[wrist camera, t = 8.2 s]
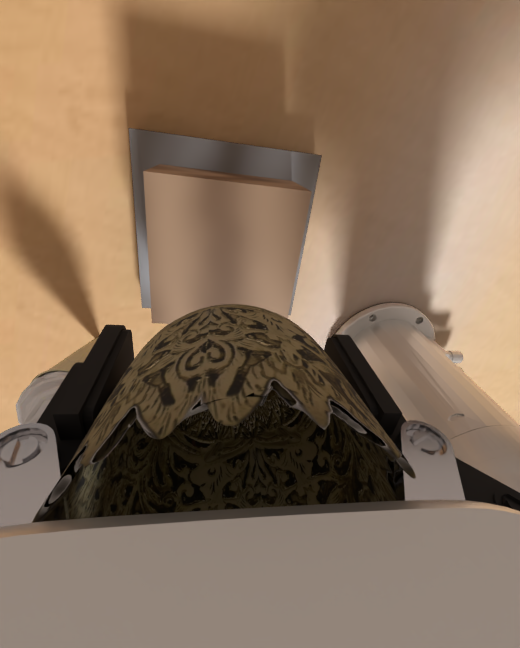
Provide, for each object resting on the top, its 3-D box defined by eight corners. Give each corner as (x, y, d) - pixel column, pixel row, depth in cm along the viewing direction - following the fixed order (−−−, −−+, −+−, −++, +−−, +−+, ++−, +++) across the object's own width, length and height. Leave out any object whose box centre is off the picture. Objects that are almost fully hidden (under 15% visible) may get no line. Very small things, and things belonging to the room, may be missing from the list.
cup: (321, 383, 15) (410, 590, 8) (171, 416, 15) (131, 652, 8) (307, 229, 11) (454, 377, 4) (103, 272, 11) (-87, 493, 4)
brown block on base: (314, 154, 25) (350, 159, 19) (286, 306, 32) (305, 350, 26) (135, 128, 23) (100, 124, 16) (146, 298, 30) (125, 344, 23)
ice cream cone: (66, 316, 30) (-46, 448, 17) (121, 318, 31) (54, 445, 18) (75, 358, 33) (-16, 500, 20) (126, 359, 33) (70, 496, 21)
